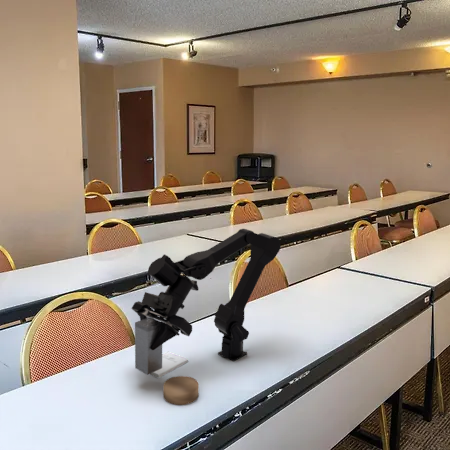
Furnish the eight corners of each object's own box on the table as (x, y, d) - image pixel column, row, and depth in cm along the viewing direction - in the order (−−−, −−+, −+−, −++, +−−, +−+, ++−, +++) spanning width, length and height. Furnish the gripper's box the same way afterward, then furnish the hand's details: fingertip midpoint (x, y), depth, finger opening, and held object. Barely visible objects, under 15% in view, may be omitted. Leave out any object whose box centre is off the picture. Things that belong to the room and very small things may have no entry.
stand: (181, 382, 137) (181, 372, 137) (205, 394, 132) (205, 384, 131) (156, 395, 131) (156, 385, 130) (180, 409, 125) (181, 398, 124)
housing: (149, 361, 138) (149, 317, 135) (162, 368, 135) (162, 322, 132) (135, 368, 135) (134, 322, 132) (147, 374, 132) (147, 328, 129)
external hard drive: (137, 370, 144) (167, 355, 154) (158, 380, 140) (188, 363, 149) (137, 365, 144) (167, 350, 154) (158, 374, 139) (188, 358, 149)
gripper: (136, 273, 139) (104, 322, 133) (184, 288, 127) (152, 343, 121) (157, 293, 146) (128, 341, 140) (205, 309, 135) (175, 362, 129)
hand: (144, 346), depth 132 cm, fingers closed on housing, 5 cm apart
